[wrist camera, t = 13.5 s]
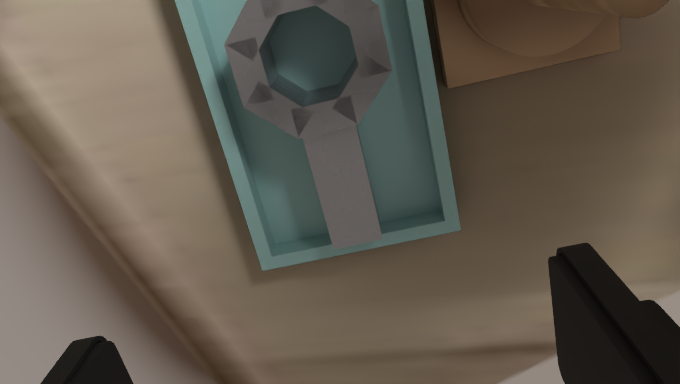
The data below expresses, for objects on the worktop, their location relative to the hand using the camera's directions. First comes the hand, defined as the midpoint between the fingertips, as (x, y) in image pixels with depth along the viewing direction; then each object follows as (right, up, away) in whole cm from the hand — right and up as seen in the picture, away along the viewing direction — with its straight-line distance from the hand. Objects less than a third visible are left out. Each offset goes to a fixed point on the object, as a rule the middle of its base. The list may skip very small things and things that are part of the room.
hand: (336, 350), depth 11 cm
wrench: (-1, +7, +15) cm, 17 cm away
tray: (-1, +9, +15) cm, 17 cm away
